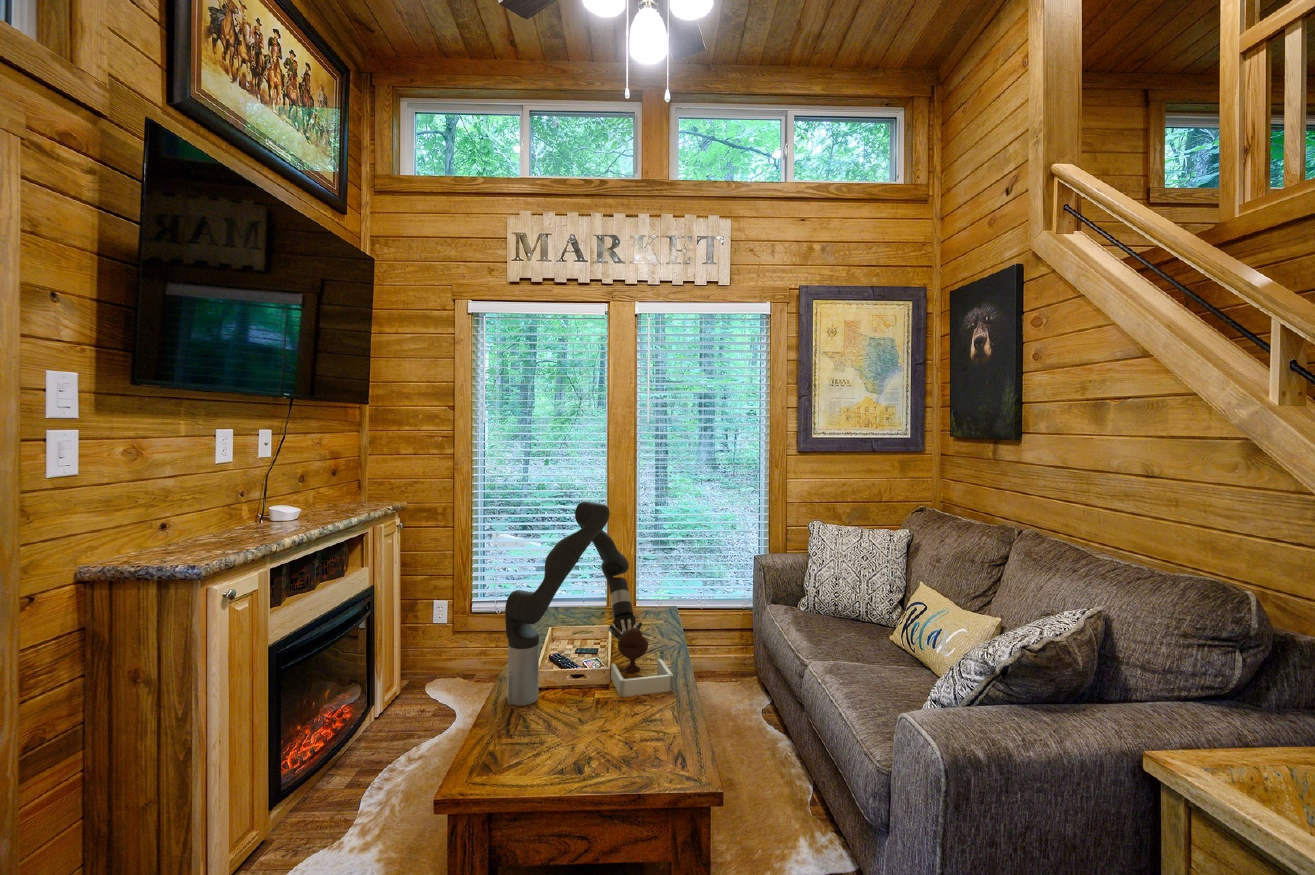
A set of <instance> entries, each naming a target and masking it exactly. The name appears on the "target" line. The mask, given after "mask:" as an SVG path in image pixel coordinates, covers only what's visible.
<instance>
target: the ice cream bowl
mask: <svg viewBox="0 0 1315 875" xmlns="http://www.w3.org/2000/svg"><path fill="white" fill-rule="evenodd" d="M648 648H649V641H648V640H647V638H646V637H645V636H643V633H642V631H641V629H640V630H639V629H637V628H635V627H633V628H631V629H629V630H627V631H625V632H623V633H622V634H621V636H620V640H617V649H618V651H619V653H620V655H622V656H623V657H625V658H626V659H627V660H628V659H629V660H630V661H629V665H627V666H625V667H624V671H625V672H626V673H628V674H638V673H639V672H641V667H640V666H638V665H636V660H637V659H639V658H641V657H643V656H644V655H645V654H646V653H647V651H648Z"/></svg>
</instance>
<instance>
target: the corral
mask: <svg viewBox="0 0 1315 875" xmlns="http://www.w3.org/2000/svg"><path fill="white" fill-rule="evenodd" d="M610 668H611V670H610V671H611V672H610V680H611V681H612V683H613V685H614V687H615V689H616V692H617V693H618V695H619V697H620V698H625V697H634V696H641V695H643V696H644V695H651V694H659V693H667V692H674V687H675V686H674V680H675V677H674V674H673V673H672V671H671V670H670V668H669V667H668V666H667V664H666V663H665V662H664V661H663V659H662V658H658V659H657V672H656V673H657V675H651V676H650V675H649V676H642V677H633V678H632V677H631V678H624V677H623V676H622V674H621V672H620V670H619V669H618V666H617V665H616V663H611V666H610Z"/></svg>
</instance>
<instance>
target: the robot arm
mask: <svg viewBox="0 0 1315 875" xmlns="http://www.w3.org/2000/svg"><path fill="white" fill-rule="evenodd" d="M610 512H611V511H610V507H608V506H607V505H606V504H604V503H600V502H594V501H589V500H588V501H587V500H584V501H581V502H579V503H578V505H577V506H576V509H575V511H574V518H575V522H576V523H577V525H578V526H579V528H580V529H579V530H577V531H575V532H573V533H571V534H569V535H567V536H565V537H564V538H561V540H559V541H558V542H557V543H556V544H555V545H554V546H553V547H552V549H551V550H550V552H549V553H548V554H547V556H546V558H545V560H544V578H543V580H542V582H541V583H540V585H539V586H538V587H537V589H536V590H534V592H532V591H529V590H528V591H527V590H522V589H515V590H513V591H512V592H511V593H509V595H508V597H507V599H506V602H505V608H504V612H505V613H504V615H505V616H504V618H505V622H504V623H505V636H506V638H507V642H508V643H507V644H508V645H507V647H508V650H507V652H508V653H507V654H508V655H507V675H506V678H507V680H506V681H507V682H506V683H507V684H506V685H507V686H506V689H507V690H506V692H507V693H506V695H507V696H506V697H507V698H506V699H507V705H508V706H516V707H517V706H519V707H522V706H523V707H524V706H529V705H532V704H534V703H536V702H537V701H538V700H539V683H540V682H539V681H540V680H539V678H540V677H539V676H540V675H539V674H540V673H539V668H540V666H539V665H540V664H539V661H540V634H539V632H538V631H537V630H535V629H534V628H533V627H532V626H531V625H534V624H537V623H538V622H539V621H540V620H541V619H542V618H543V617H544V615H545V614H546V612H547V610H548V608H549V607H550V605H551V603H552V601H553V599H554V597H555V596H556V593H557V592H558V590H560V587H561V586H562V585H563V582H564V581H565V580H566V578H567V576H568V575H569V574H570V573H571V571H572V570H573V569H574V568H575V566H576V565H577V563H578V562H579V560H580V558H581V557H582V555H583V554H584V553H585V551H586V549H588V547H589V546H590V545H591V543H592V544H593V545H594V547H595V549H596V551H597V553H598V556H599V557H600V559H601V561H602V563H601V565H600V568H601V571H602V574H603V575H604V577H605V579H606V581H607V584H608V588H609V593H610V594H609V596H610V606H611V611H612V617H613V621H612V624H609V626H608V629H607V630H608V631H609V633H611V634H612V636H613V637H615V639H617V641H619V640H620V636H621V634H622V633H623V632H625V631H627V630H629V629H631V628H637V629H639V630H640V631H641V628H642V626H643V622H638V621H637V619H636V617H635V615H634V610H633V604H632V599H631V598H632V597H631V595H630V591H629V584H628V581H627V579H626V578H625V577H618V576H620V575H624V574H626V573H627V572H628V571H629V569H630V564H629V561H628V559H627V558H626V556H625V555H624V554H623V553H621V552H620V551H619V550H618V548H617V546H616V543H615V542H614V540H613V538H612V537H611V536H610V535H609V534H608V533H607V532H606V531H605V530H603V529H604V528H605V527H606V525H607V524H608V521H609V518H610Z"/></svg>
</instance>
